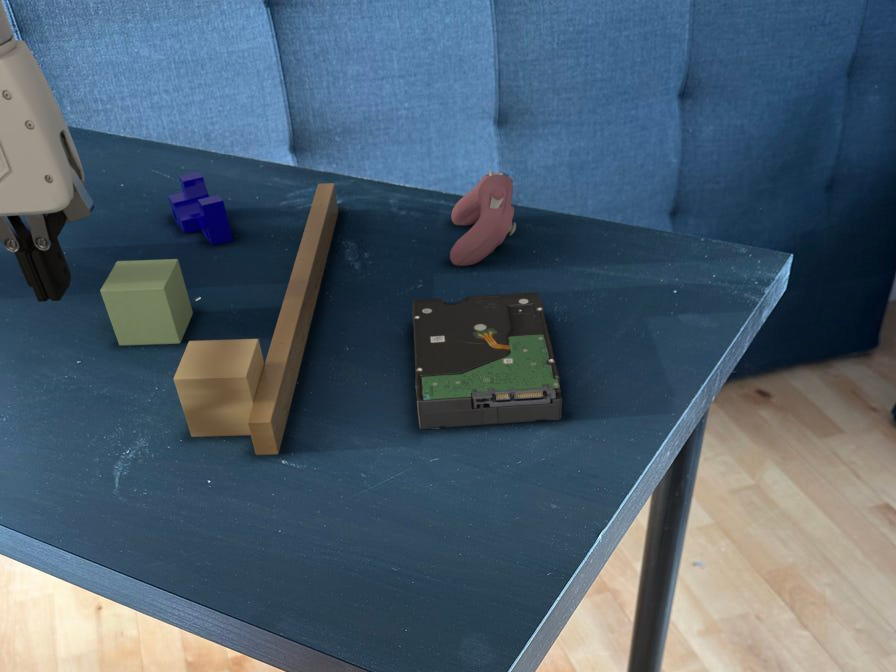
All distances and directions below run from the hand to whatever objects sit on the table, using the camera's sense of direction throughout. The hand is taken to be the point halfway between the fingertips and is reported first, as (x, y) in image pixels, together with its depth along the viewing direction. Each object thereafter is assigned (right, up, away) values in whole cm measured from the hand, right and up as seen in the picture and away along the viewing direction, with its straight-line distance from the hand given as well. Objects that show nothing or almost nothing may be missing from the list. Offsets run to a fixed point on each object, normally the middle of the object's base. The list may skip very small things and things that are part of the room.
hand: (54, 292), depth 75 cm
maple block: (+16, -12, -7) cm, 21 cm away
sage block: (+7, -2, +3) cm, 8 cm away
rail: (+19, -1, +4) cm, 20 cm away
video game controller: (+34, +8, +12) cm, 37 cm away
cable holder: (+7, +11, +16) cm, 21 cm away
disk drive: (+34, -8, -3) cm, 35 cm away
